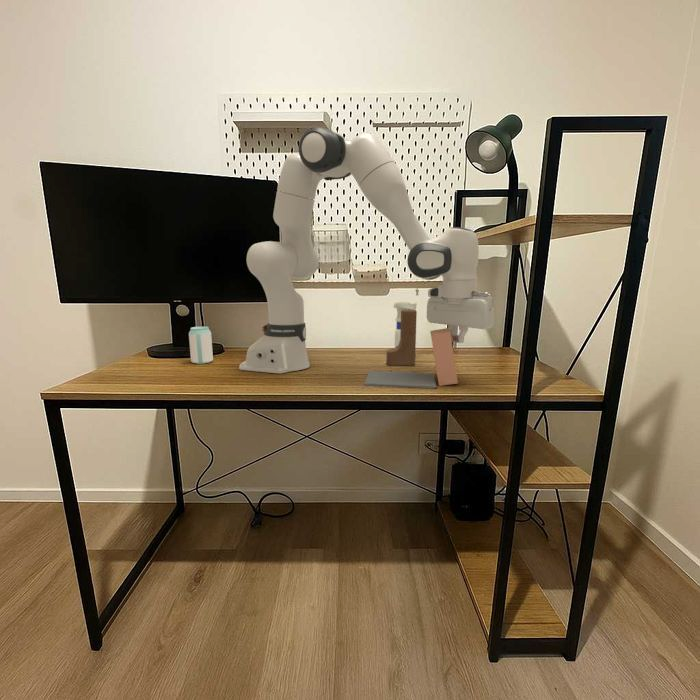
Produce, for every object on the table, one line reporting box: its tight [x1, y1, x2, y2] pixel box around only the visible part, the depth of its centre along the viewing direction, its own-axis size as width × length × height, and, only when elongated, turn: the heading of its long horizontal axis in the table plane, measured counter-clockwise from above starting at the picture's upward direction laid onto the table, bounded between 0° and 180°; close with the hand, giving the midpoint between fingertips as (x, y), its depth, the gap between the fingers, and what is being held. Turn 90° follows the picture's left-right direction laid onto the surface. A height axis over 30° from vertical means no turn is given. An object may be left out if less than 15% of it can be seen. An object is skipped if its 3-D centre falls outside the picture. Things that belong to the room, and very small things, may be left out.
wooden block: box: [386, 309, 418, 366], centre depth 129 cm, size 9×4×18 cm, turn 90°
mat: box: [363, 370, 437, 389], centre depth 111 cm, size 19×14×1 cm
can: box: [188, 326, 214, 365], centre depth 133 cm, size 7×7×12 cm
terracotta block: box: [430, 327, 459, 387], centre depth 108 cm, size 5×8×14 cm, turn 170°
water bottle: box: [393, 287, 420, 349], centre depth 141 cm, size 8×9×25 cm
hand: (457, 342), depth 107 cm, fingers closed
